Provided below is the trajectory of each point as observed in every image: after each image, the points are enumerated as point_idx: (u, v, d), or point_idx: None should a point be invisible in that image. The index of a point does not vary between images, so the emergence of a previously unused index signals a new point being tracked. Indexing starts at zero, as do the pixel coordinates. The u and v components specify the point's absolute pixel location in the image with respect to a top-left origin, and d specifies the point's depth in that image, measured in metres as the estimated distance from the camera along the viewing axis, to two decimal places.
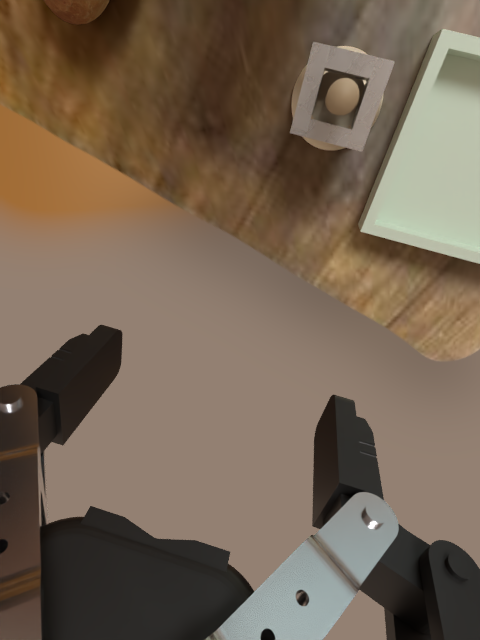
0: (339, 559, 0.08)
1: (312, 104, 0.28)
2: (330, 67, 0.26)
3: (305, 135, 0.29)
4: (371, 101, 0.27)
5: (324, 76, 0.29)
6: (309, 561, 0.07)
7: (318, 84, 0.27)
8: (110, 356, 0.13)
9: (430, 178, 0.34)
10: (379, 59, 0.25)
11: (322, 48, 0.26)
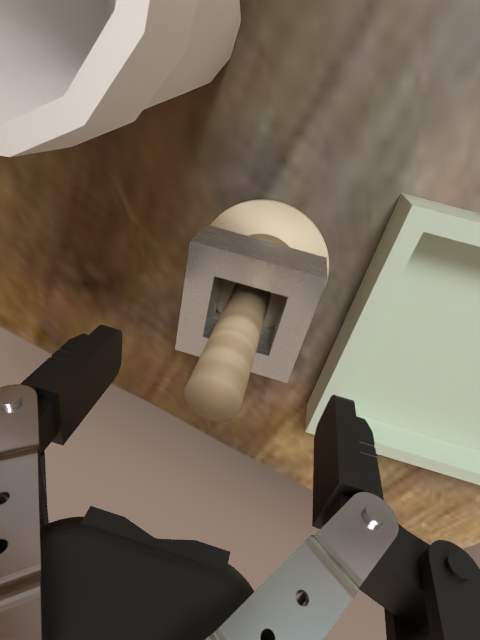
0: (339, 559, 0.08)
1: (202, 319, 0.17)
2: (223, 277, 0.16)
3: (198, 354, 0.18)
4: (294, 326, 0.16)
5: None
6: (309, 561, 0.07)
7: (208, 296, 0.16)
8: (110, 356, 0.13)
9: (403, 369, 0.23)
10: (301, 274, 0.15)
11: (206, 251, 0.15)
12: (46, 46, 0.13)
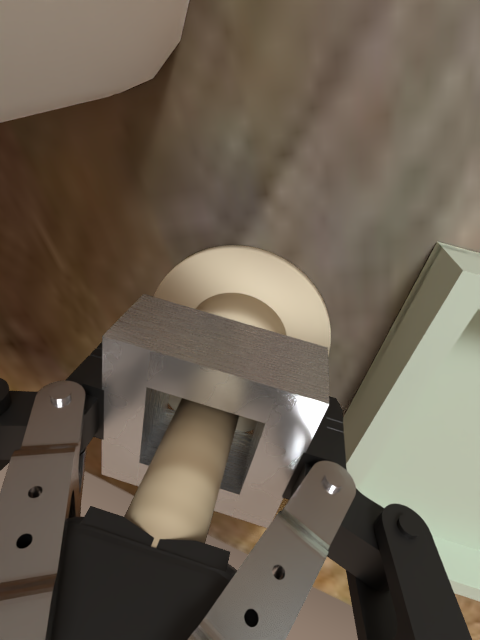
0: (296, 517, 0.08)
1: (136, 442, 0.11)
2: (160, 389, 0.10)
3: (136, 483, 0.12)
4: (277, 462, 0.10)
5: None
6: (281, 536, 0.07)
7: (140, 413, 0.10)
8: None
9: (430, 468, 0.17)
10: (286, 394, 0.09)
11: (130, 352, 0.09)
12: None
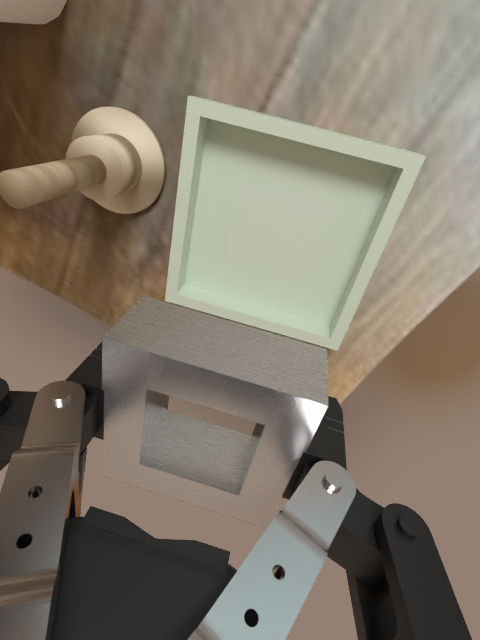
0: (296, 517, 0.08)
1: (136, 443, 0.11)
2: (160, 391, 0.10)
3: (136, 484, 0.12)
4: (276, 463, 0.10)
5: (73, 144, 0.25)
6: (281, 536, 0.07)
7: (140, 414, 0.10)
8: None
9: (231, 245, 0.31)
10: (285, 396, 0.09)
11: (130, 354, 0.09)
12: None
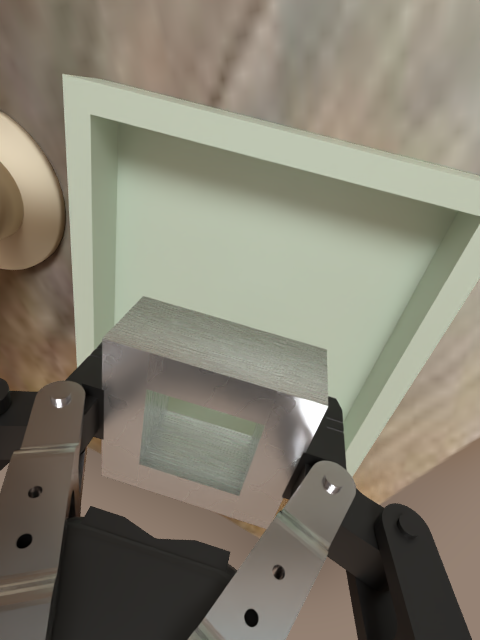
0: (295, 517, 0.08)
1: (136, 443, 0.11)
2: (160, 391, 0.10)
3: (136, 484, 0.12)
4: (276, 463, 0.10)
5: None
6: (281, 536, 0.07)
7: (140, 415, 0.10)
8: None
9: None
10: (285, 396, 0.09)
11: (130, 354, 0.09)
12: None
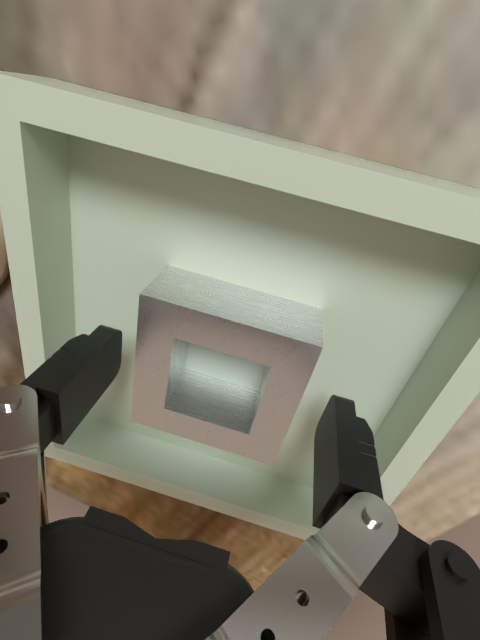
0: (339, 559, 0.08)
1: (162, 389, 0.13)
2: (185, 339, 0.12)
3: (160, 428, 0.14)
4: (280, 401, 0.12)
5: None
6: (309, 561, 0.07)
7: (167, 362, 0.12)
8: (110, 356, 0.13)
9: None
10: (288, 340, 0.11)
11: (161, 307, 0.11)
12: None
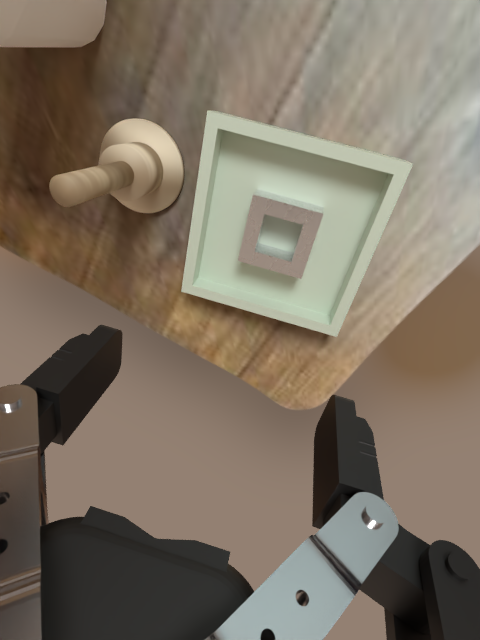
0: (339, 559, 0.08)
1: (255, 240, 0.31)
2: (269, 214, 0.30)
3: (251, 263, 0.32)
4: (306, 242, 0.30)
5: (105, 151, 0.29)
6: (309, 561, 0.07)
7: (259, 226, 0.30)
8: (110, 356, 0.13)
9: None
10: (310, 211, 0.29)
11: (261, 199, 0.29)
12: None
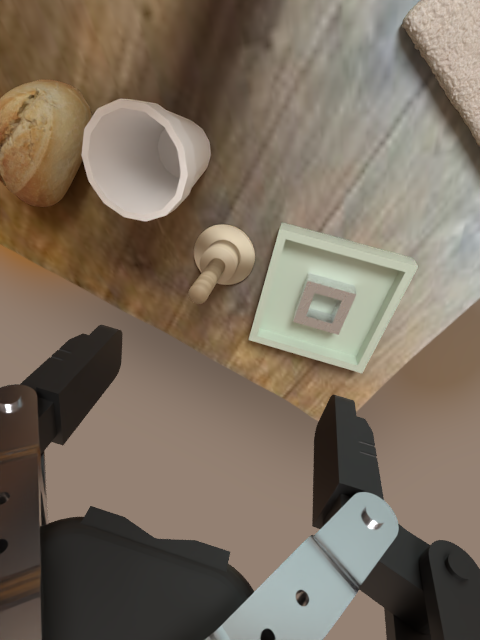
0: (339, 559, 0.08)
1: (307, 309, 0.44)
2: (318, 293, 0.43)
3: (303, 323, 0.46)
4: (343, 311, 0.44)
5: (206, 252, 0.42)
6: (309, 561, 0.07)
7: (310, 300, 0.44)
8: (110, 356, 0.13)
9: (294, 306, 0.47)
10: (347, 292, 0.42)
11: (313, 284, 0.43)
12: (141, 175, 0.37)
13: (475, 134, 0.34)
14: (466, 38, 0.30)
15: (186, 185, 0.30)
